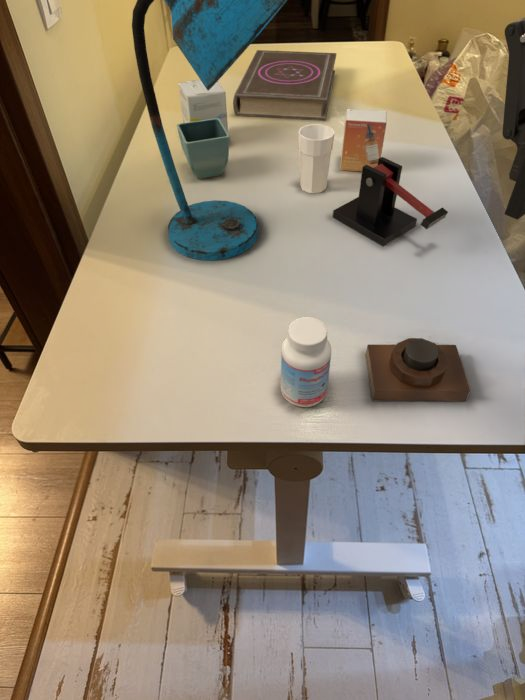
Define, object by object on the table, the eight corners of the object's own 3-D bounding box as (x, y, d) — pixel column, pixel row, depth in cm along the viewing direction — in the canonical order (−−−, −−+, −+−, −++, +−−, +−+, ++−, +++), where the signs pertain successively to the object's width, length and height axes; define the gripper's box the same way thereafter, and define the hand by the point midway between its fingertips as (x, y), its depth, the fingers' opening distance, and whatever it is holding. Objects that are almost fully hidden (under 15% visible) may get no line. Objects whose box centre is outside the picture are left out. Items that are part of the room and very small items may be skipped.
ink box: (230, 145, 115) (226, 90, 107) (193, 152, 114) (186, 96, 105) (219, 129, 121) (215, 75, 112) (184, 135, 119) (176, 81, 110)
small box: (339, 171, 107) (344, 119, 99) (341, 157, 110) (346, 107, 103) (378, 173, 106) (387, 122, 98) (379, 160, 110) (387, 109, 102)
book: (325, 120, 123) (326, 98, 119) (233, 115, 126) (232, 94, 122) (334, 72, 143) (336, 52, 140) (255, 69, 146) (255, 49, 142)
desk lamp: (274, 270, 85) (274, -82, 52) (150, 252, 89) (76, -86, 56) (294, 216, 96) (304, -105, 63) (182, 203, 100) (135, -107, 66)
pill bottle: (303, 417, 65) (307, 358, 57) (271, 388, 69) (270, 329, 60) (336, 391, 68) (344, 331, 60) (304, 365, 71) (307, 305, 63)
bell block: (452, 355, 72) (459, 335, 69) (466, 401, 67) (474, 381, 64) (365, 355, 72) (369, 335, 69) (372, 400, 67) (376, 381, 64)
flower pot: (233, 178, 106) (230, 135, 99) (190, 186, 104) (185, 143, 97) (222, 159, 111) (218, 117, 105) (182, 166, 110) (175, 123, 103)
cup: (327, 196, 100) (332, 141, 92) (294, 193, 101) (295, 138, 93) (331, 179, 105) (336, 125, 96) (299, 176, 106) (301, 122, 97)
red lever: (443, 220, 85) (450, 209, 83) (425, 232, 83) (430, 221, 81) (382, 172, 90) (386, 160, 88) (363, 182, 88) (367, 170, 86)
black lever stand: (415, 226, 93) (428, 170, 85) (382, 246, 89) (393, 189, 81) (365, 199, 99) (373, 145, 91) (332, 217, 95) (337, 162, 87)
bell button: (431, 348, 68) (434, 339, 67) (438, 371, 65) (441, 362, 64) (401, 348, 68) (403, 338, 67) (406, 371, 65) (408, 362, 64)
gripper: (515, -77, 39) (444, 201, 56) (707, -56, 32) (559, 253, 50) (563, -89, 42) (482, 177, 60) (747, -73, 36) (595, 222, 53)
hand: (517, 211), depth 55 cm, fingers closed
